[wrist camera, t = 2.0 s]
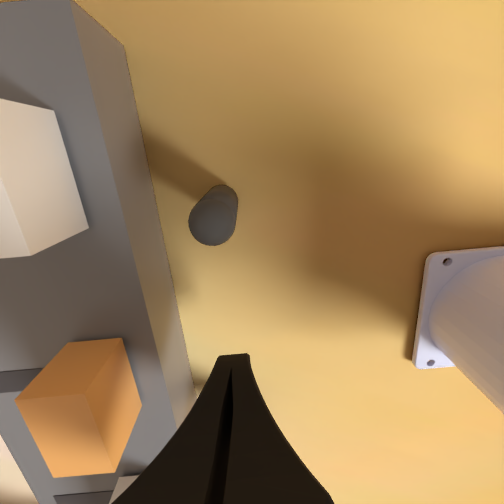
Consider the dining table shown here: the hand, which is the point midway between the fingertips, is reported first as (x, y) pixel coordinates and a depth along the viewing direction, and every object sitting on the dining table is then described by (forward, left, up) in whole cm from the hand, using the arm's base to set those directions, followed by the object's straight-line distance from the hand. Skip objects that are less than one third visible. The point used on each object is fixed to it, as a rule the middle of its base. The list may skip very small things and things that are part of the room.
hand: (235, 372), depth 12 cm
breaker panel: (+8, 0, -5) cm, 9 cm away
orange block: (+6, 0, -1) cm, 6 cm away
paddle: (+6, -9, -1) cm, 11 cm away
